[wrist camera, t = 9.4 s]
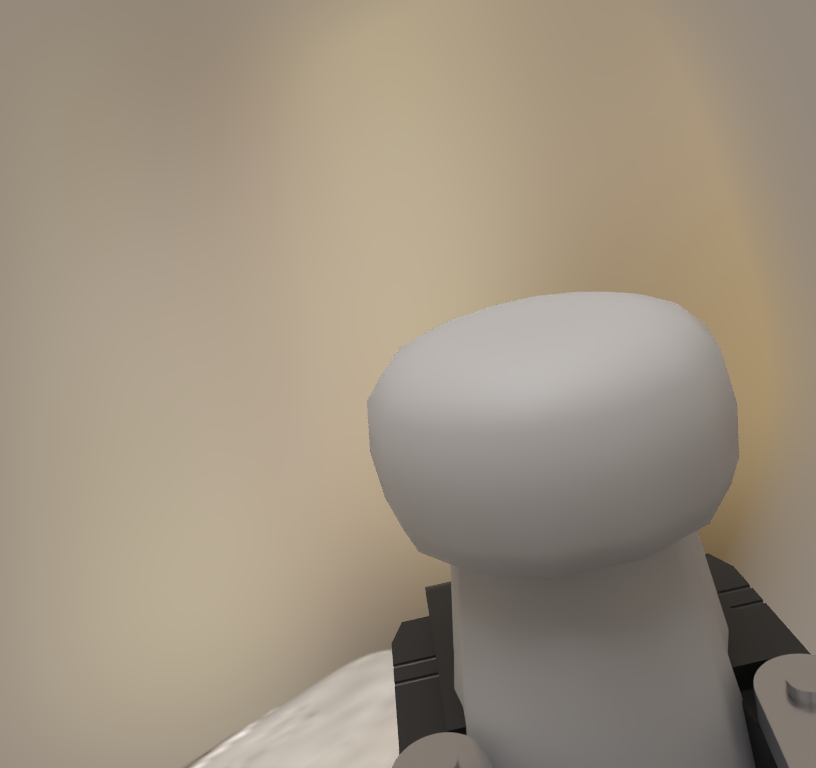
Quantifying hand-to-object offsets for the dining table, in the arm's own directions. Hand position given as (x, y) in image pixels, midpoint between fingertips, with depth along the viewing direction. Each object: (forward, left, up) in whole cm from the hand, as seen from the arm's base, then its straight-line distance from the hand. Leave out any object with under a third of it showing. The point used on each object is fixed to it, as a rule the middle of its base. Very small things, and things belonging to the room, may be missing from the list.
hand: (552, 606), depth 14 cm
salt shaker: (+2, -2, -7) cm, 8 cm away
